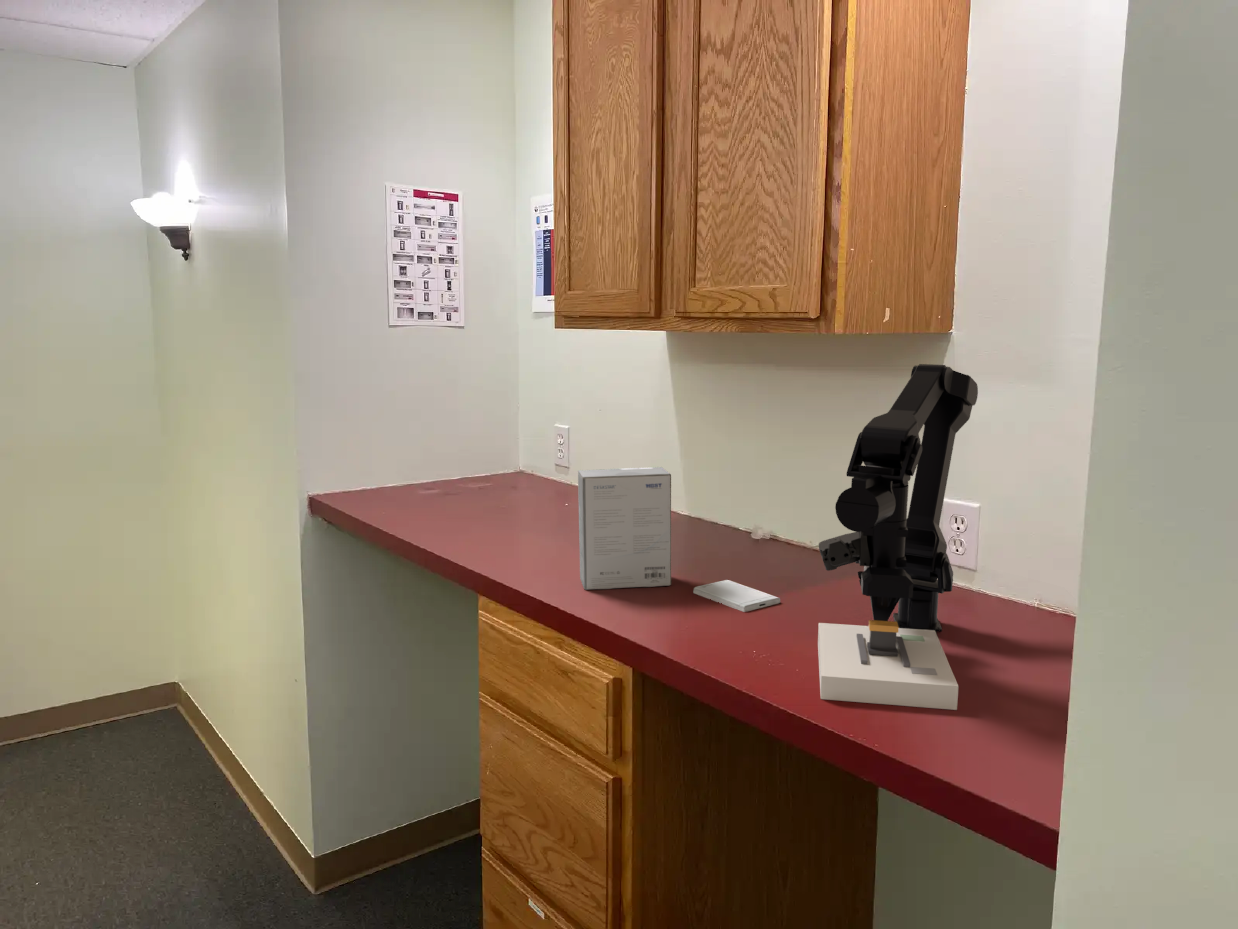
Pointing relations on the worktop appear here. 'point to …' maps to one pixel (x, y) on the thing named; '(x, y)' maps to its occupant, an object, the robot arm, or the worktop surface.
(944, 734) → the worktop surface
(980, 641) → the worktop surface
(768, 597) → the hard drive
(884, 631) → the breaker toggle
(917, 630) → the breaker box
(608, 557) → the hard drive box
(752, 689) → the worktop surface
